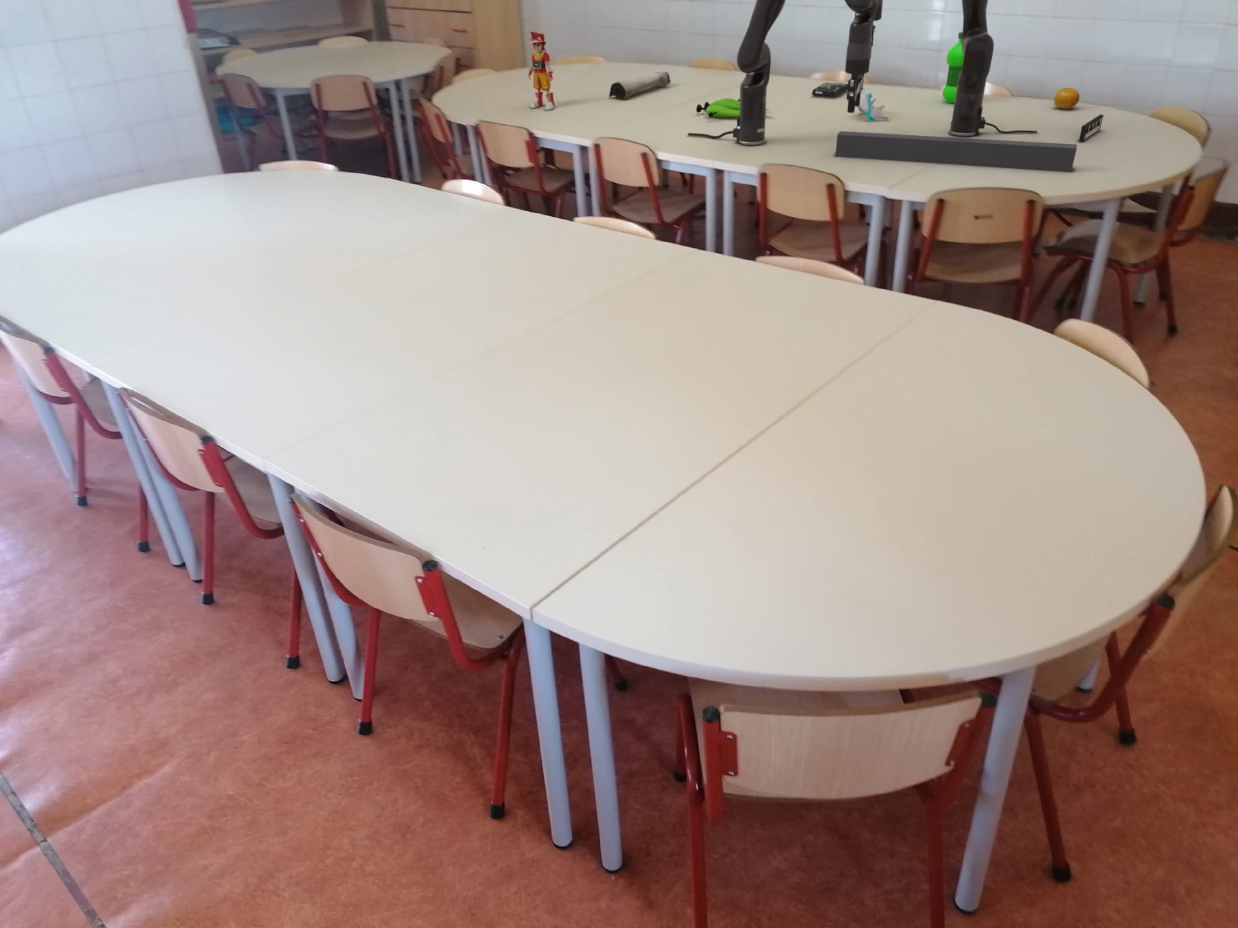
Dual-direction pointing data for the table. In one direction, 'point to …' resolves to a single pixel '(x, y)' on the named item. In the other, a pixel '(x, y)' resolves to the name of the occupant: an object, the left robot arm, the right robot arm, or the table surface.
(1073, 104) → the fruit
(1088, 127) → the midi keyboard
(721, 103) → the toy
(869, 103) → the anatomical model
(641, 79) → the rolled mat
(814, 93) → the disk drive
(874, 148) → the post
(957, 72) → the plastic bottle
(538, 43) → the toy
